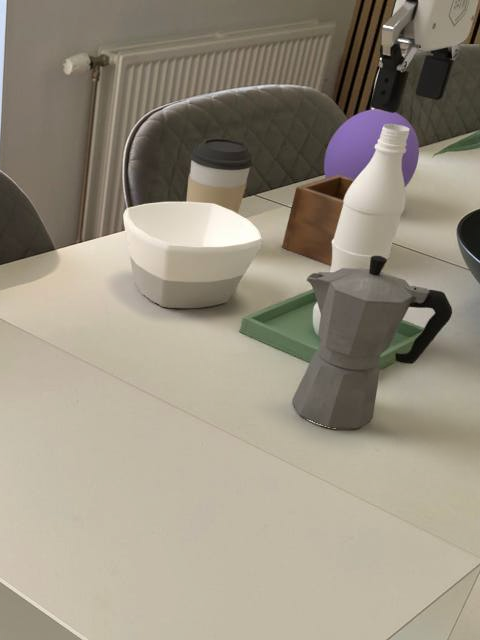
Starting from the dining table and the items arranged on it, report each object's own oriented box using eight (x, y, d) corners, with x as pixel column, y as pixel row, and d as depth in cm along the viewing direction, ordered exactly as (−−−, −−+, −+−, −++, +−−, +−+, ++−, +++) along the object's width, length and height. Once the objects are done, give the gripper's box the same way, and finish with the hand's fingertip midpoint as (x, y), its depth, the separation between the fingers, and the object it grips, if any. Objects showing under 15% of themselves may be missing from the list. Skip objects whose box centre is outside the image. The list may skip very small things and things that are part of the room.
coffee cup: (187, 258, 149) (206, 151, 139) (167, 236, 156) (184, 132, 146) (243, 257, 151) (266, 151, 141) (221, 235, 157) (242, 132, 147)
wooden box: (385, 254, 155) (404, 194, 149) (345, 271, 149) (363, 209, 143) (322, 232, 161) (338, 173, 155) (281, 247, 155) (296, 186, 149)
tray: (427, 345, 131) (432, 330, 129) (354, 382, 121) (359, 367, 120) (314, 300, 140) (318, 286, 139) (239, 331, 131) (242, 317, 129)
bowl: (97, 271, 143) (106, 203, 137) (207, 263, 148) (220, 197, 142) (148, 323, 131) (160, 251, 125) (266, 313, 136) (283, 243, 129)
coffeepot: (268, 416, 114) (310, 259, 102) (280, 381, 120) (321, 230, 108) (406, 447, 110) (466, 289, 98) (411, 410, 117) (468, 257, 105)
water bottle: (299, 335, 130) (355, 127, 113) (318, 317, 134) (376, 115, 117) (352, 351, 127) (418, 140, 110) (370, 333, 131) (436, 128, 115)
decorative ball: (411, 203, 175) (441, 110, 165) (389, 227, 165) (419, 129, 155) (328, 185, 180) (353, 93, 170) (302, 206, 170) (326, 110, 160)
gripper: (451, -74, 94) (395, 123, 106) (533, -83, 103) (474, 99, 115) (381, -84, 98) (335, 107, 110) (466, -92, 107) (415, 85, 119)
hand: (406, 103), depth 112 cm, fingers open, 9 cm apart
